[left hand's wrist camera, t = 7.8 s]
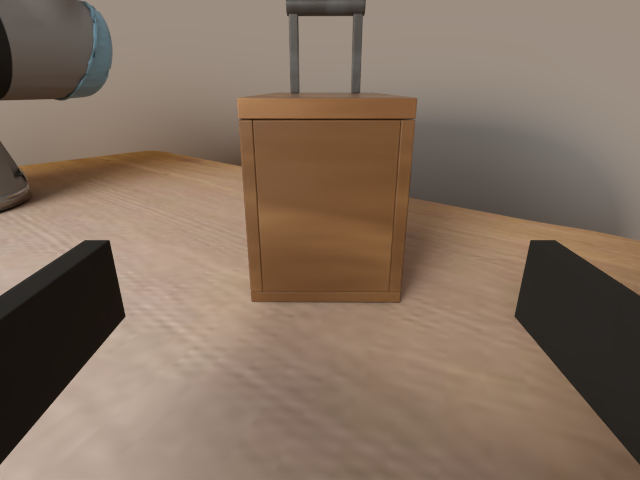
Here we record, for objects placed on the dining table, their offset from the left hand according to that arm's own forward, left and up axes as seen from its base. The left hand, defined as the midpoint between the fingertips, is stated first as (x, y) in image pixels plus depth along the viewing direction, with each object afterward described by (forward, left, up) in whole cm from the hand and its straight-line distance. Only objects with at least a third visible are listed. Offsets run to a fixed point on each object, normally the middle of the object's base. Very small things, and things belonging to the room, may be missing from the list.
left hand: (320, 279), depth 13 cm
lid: (+14, -12, +4) cm, 19 cm away
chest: (+13, -12, -6) cm, 19 cm away
